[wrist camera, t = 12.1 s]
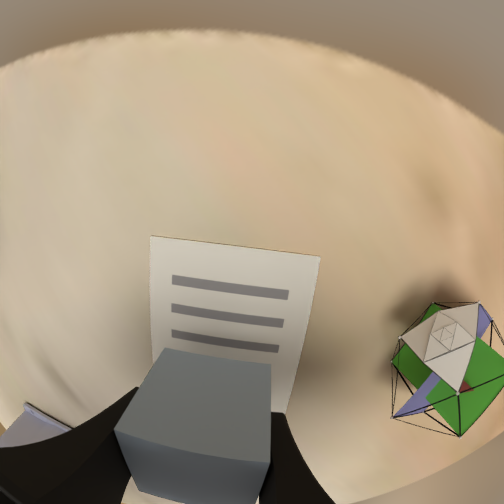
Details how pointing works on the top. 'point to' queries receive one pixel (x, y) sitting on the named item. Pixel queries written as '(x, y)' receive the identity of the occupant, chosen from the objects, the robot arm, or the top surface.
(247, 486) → the slate cube
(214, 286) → the letter
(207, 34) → the top surface
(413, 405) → the geometric puzzle
